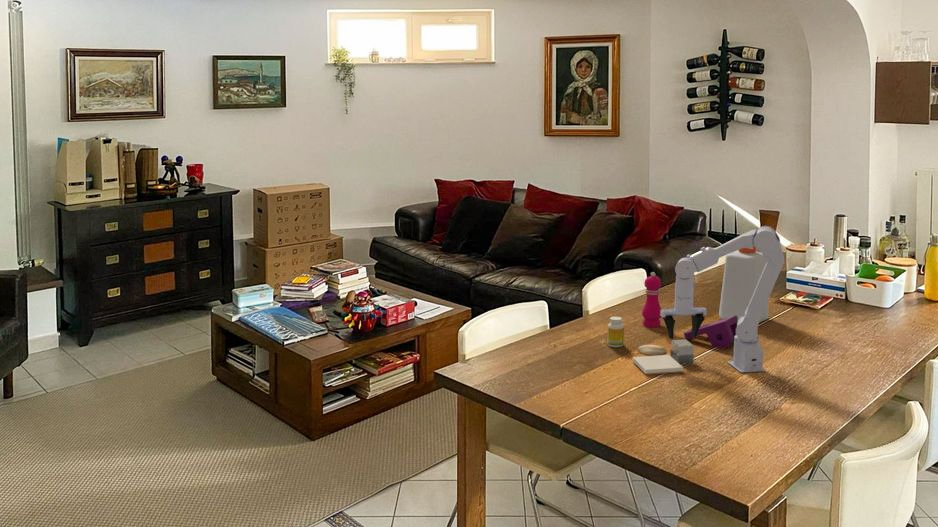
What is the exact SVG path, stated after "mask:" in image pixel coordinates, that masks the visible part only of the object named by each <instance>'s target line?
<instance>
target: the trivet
mask: <svg viewBox="0 0 938 527" xmlns="http://www.w3.org/2000/svg"><path fill="white" fill-rule="evenodd" d="M632 362H633V363H634V364H635V366H636V367H638V368H639V370H641V372H643V374H645V375H646V376H648V375H649V376H650V375H663V374H664V375H665V374H679V373H680V374H681V373H682V372H684V367H683V366H682V364H681V365H680V364H679V363H678V362H677V361H675V360H674V359H673V358H672V357H671V356H670V355H669V354H661V355H648V356H647V355H645V356H632Z"/></svg>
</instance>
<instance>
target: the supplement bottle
mask: <svg viewBox="0 0 938 527" xmlns="http://www.w3.org/2000/svg"><path fill="white" fill-rule="evenodd" d="M609 322H610V323H608V325H607V340H606V341H607V342H606V343H607V344H606V345H608V347H611V348H621V347H623V345H624V340H625V339H624V333H625V332H624V330H625V329H624V328H625V325H624V324H623V323H622V322H623V318H622V317H621V316H611V317H610V318H609Z"/></svg>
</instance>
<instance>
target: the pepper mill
mask: <svg viewBox="0 0 938 527" xmlns="http://www.w3.org/2000/svg"><path fill="white" fill-rule="evenodd" d="M644 287H645V288H646V289H645V294H646V300H645V303H644V305H643V307H642V310H641V316H642V317H643V318H644V319H643V320H642V325H643V326H644V327H646V328H658V327H660V326H661V320H660V319H661V318H662V317H661V316H660V311H661V310H662V307H661V305H660V301H659V295H660V291H661V289H660V288H661V287H662V279H661V278H659V276H657V275H656V273H655V272H654V271H652V272H650V276H647V277H645V279H644Z"/></svg>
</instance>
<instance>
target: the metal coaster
mask: <svg viewBox="0 0 938 527" xmlns="http://www.w3.org/2000/svg"><path fill="white" fill-rule="evenodd" d="M666 350H667V348H666V347H664V346H662V345H657V344H643V345H639V346H638V347H637V351H638V352H639V353H640V354H643V355H646V356H647V355H648V356H658V355H665V353H666Z"/></svg>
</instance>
